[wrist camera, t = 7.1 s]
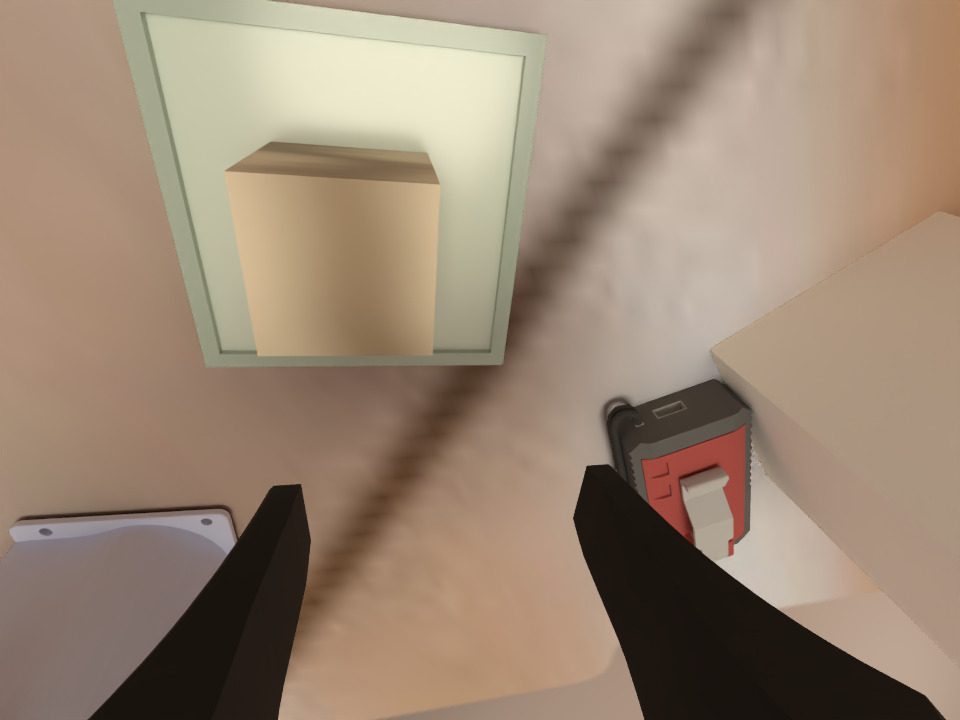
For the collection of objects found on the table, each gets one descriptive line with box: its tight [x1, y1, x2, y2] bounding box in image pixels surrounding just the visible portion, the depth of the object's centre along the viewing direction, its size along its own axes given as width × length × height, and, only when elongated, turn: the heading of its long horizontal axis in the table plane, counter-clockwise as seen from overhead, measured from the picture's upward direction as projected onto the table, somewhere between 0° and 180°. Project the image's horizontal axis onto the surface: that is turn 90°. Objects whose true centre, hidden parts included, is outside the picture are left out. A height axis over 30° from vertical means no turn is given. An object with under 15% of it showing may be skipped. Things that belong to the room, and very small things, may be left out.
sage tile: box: [113, 0, 548, 367], centre depth 17 cm, size 12×12×1 cm
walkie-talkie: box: [607, 379, 753, 562], centre depth 28 cm, size 9×4×20 cm
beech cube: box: [224, 141, 440, 356], centre depth 15 cm, size 5×5×5 cm
